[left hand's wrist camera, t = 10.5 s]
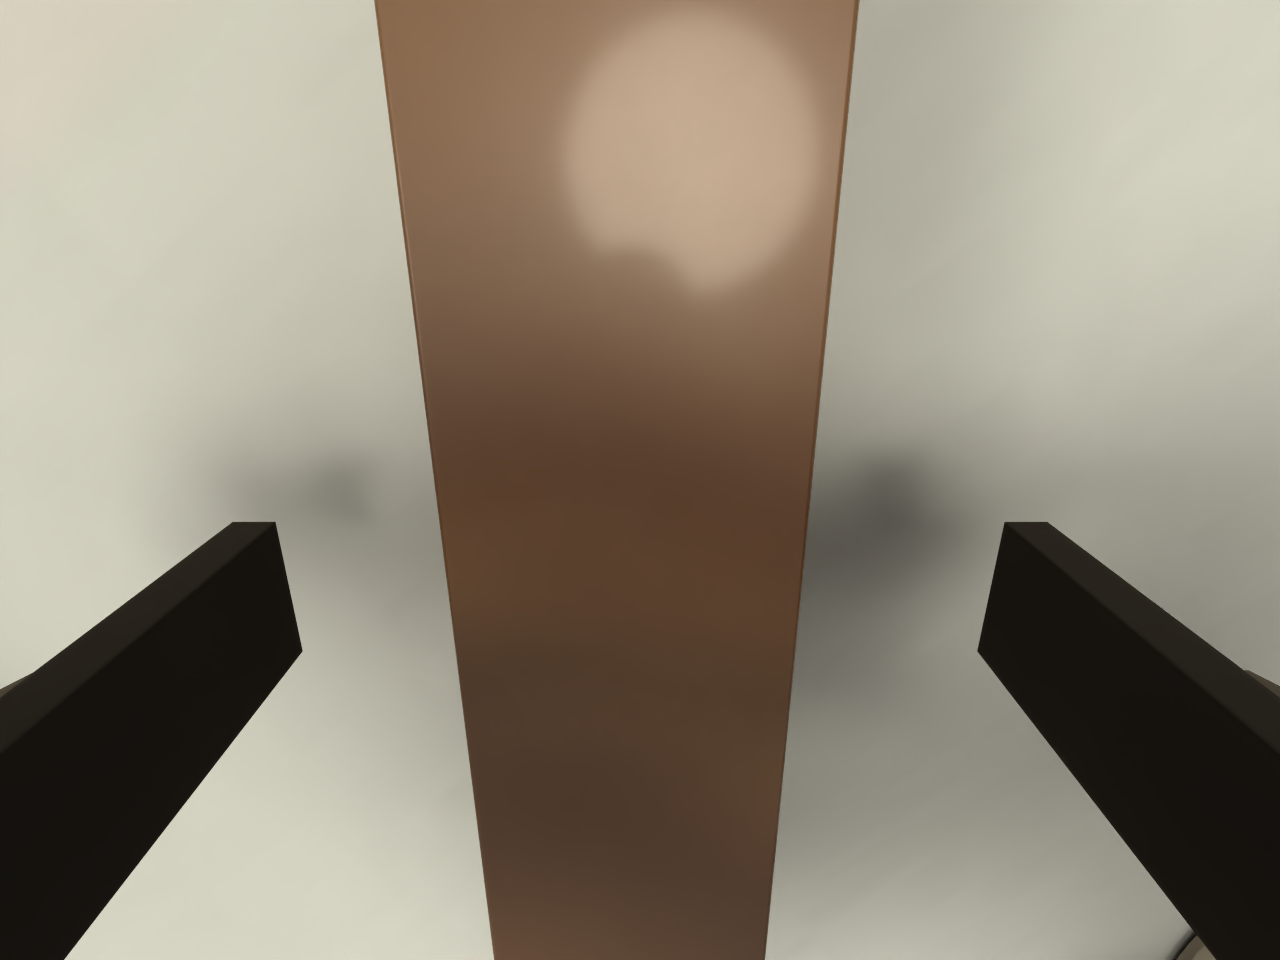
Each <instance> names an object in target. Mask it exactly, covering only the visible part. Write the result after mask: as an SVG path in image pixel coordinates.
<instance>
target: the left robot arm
mask: <svg viewBox="0 0 1280 960" xmlns="http://www.w3.org/2000/svg"><path fill="white" fill-rule="evenodd" d="M301 653H302V646H301V641H300V637H299V632H298V627H297V622H296V618H295V613H294V608H293V603H292V599H291V594H290V589H289V584H288V580H287V575H286V570H285V565H284V561H283V556H282V551H281V547H280V542H279V537H278V532H277V528H276V523H275V522H232V523H231V524H230V525H228V526H227V527H226V528H224V529H223V530H222V531H220V532H219V533H218V534H216V535H215V536H214V537H212V538H211V539H210V540H208V541H207V542H206V543H204V544H203V545H202V546H200V547H199V548H198V549H196V550H195V551H194V552H192V553H191V554H190V555H188V556H187V557H186V558H184V559H183V560H182V561H181V562H179V563H178V564H177V565H175V566H174V567H173V568H171V569H170V570H169V571H167V572H166V573H165V574H163V575H162V576H161V577H159V578H158V579H157V580H155V581H154V582H153V583H151V584H150V585H149V586H147V587H146V588H145V589H143V590H142V591H141V592H139V593H138V594H137V595H135V596H134V597H133V598H131V599H130V600H129V601H128V602H126V603H125V604H124V605H122V606H121V607H120V608H118V609H117V610H116V611H114V612H113V613H112V614H110V615H109V616H108V617H106V618H105V619H104V620H102V621H101V622H100V623H98V624H97V625H96V626H94V627H93V628H92V629H90V630H89V631H88V632H86V633H85V634H84V635H82V636H81V637H80V638H78V639H77V640H76V641H75V642H73V643H72V644H71V645H69V646H68V647H67V648H65V649H64V650H63V651H61V652H60V653H59V654H57V655H56V656H55V657H53V658H52V659H51V660H49V661H48V662H47V663H45V664H44V665H43V666H41V667H40V668H39V669H37V670H36V671H35V672H33V673H31V674H29V675H28V676H26V677H24V678H22V679H20V680H18V681H16V682H14V683H12V684H10V685H8V686H6V687H4V688H2V689H0V960H64V959H65V958H66V956H67V955H68V954H69V953H70V951H71V950H72V949H73V947H74V946H75V945H76V944H77V942H78V941H79V940H80V938H81V937H82V936H83V935H84V933H85V932H86V931H87V929H88V928H89V927H90V925H91V924H92V923H93V922H94V920H95V919H96V918H97V916H98V915H99V914H100V913H101V911H102V910H103V909H104V907H105V906H106V905H107V903H108V902H109V901H110V900H111V898H112V897H113V896H114V894H115V893H116V892H117V891H118V889H119V888H120V887H121V885H122V884H123V883H124V881H125V880H126V879H127V878H128V876H129V875H130V874H131V872H132V871H133V870H134V869H135V867H136V866H137V865H138V863H139V862H140V861H141V859H142V858H143V857H144V856H145V854H146V853H147V852H148V850H149V849H150V848H151V847H152V845H153V844H154V843H155V841H156V840H157V839H158V837H159V836H160V835H161V834H162V832H163V831H164V830H165V828H166V827H167V826H168V825H169V823H170V822H171V821H172V819H173V818H174V817H175V816H176V814H177V813H178V812H179V810H180V809H181V808H182V806H183V805H184V804H185V803H186V801H187V800H188V799H189V797H190V796H191V795H192V794H193V792H194V791H195V790H196V788H197V787H198V786H199V784H200V783H201V782H202V781H203V779H204V778H205V777H206V775H207V774H208V773H209V772H210V770H211V769H212V768H213V766H214V765H215V764H216V762H217V761H218V760H219V759H220V757H221V756H222V755H223V753H224V752H225V751H226V750H227V748H228V747H229V746H230V744H231V743H232V742H233V740H234V739H235V738H236V737H237V735H238V734H239V733H240V731H241V730H242V729H243V728H244V726H245V725H246V724H247V722H248V721H249V720H250V719H251V717H252V716H253V715H254V713H255V712H256V711H257V709H258V708H259V707H260V706H261V704H262V703H263V702H264V700H265V699H266V698H267V697H268V695H269V694H270V693H271V691H272V690H273V689H274V687H275V686H276V685H277V684H278V682H279V681H280V680H281V678H282V677H283V676H284V675H285V673H286V672H287V671H288V669H289V668H290V667H291V665H292V664H293V663H294V662H295V660H296V659H297V658H298V656H299V655H300V654H301ZM978 653H979V654H980V655H981V656H982V658H983V659H984V660H985V662H986V663H987V664H988V665H989V667H990V668H991V669H992V671H993V672H994V673H995V675H996V676H997V677H998V678H999V680H1000V681H1001V682H1002V684H1003V685H1004V686H1005V687H1006V689H1007V690H1008V691H1009V693H1010V694H1011V695H1012V697H1013V698H1014V699H1015V700H1016V702H1017V703H1018V704H1019V706H1020V707H1021V708H1022V709H1023V711H1024V712H1025V713H1026V715H1027V716H1028V717H1029V719H1030V720H1031V721H1032V722H1033V724H1034V725H1035V726H1036V728H1037V729H1038V730H1039V731H1040V733H1041V734H1042V735H1043V737H1044V738H1045V739H1046V740H1047V742H1048V743H1049V744H1050V746H1051V747H1052V748H1053V750H1054V751H1055V752H1056V753H1057V755H1058V756H1059V757H1060V759H1061V760H1062V761H1063V762H1064V764H1065V765H1066V766H1067V768H1068V769H1069V770H1070V772H1071V773H1072V774H1073V775H1074V777H1075V778H1076V779H1077V781H1078V782H1079V783H1080V784H1081V786H1082V787H1083V788H1084V790H1085V791H1086V792H1087V794H1088V795H1089V796H1090V797H1091V799H1092V800H1093V801H1094V803H1095V804H1096V805H1097V806H1098V808H1099V809H1100V810H1101V812H1102V813H1103V814H1104V816H1105V817H1106V818H1107V819H1108V821H1109V822H1110V823H1111V825H1112V826H1113V827H1114V828H1115V830H1116V831H1117V832H1118V834H1119V835H1120V836H1121V837H1122V839H1123V840H1124V841H1125V843H1126V844H1127V845H1128V847H1129V848H1130V849H1131V850H1132V852H1133V853H1134V854H1135V856H1136V857H1137V858H1138V859H1139V861H1140V862H1141V863H1142V865H1143V866H1144V867H1145V869H1146V870H1147V871H1148V872H1149V874H1150V875H1151V876H1152V878H1153V879H1154V880H1155V881H1156V883H1157V884H1158V885H1159V887H1160V888H1161V889H1162V891H1163V892H1164V893H1165V894H1166V896H1167V897H1168V898H1169V900H1170V901H1171V902H1172V903H1173V905H1174V906H1175V907H1176V909H1177V910H1178V911H1179V913H1180V914H1181V915H1182V916H1183V918H1184V919H1185V920H1186V922H1187V923H1188V924H1189V925H1190V927H1191V928H1192V929H1193V931H1194V932H1195V933H1196V935H1197V936H1196V937H1195V938H1194V939H1193V940H1192V941H1191V942H1190V943H1189V944H1188V945H1187V947H1186V948H1185V949H1184V950H1183V952H1182V953H1181V954H1180V955H1179V957H1178V958H1177V960H1280V686H1278V685H1276V684H1274V683H1272V682H1270V681H1268V680H1266V679H1264V678H1262V677H1260V676H1258V675H1256V674H1254V673H1252V672H1250V671H1244V670H1243V669H1241V668H1240V667H1239V666H1237V665H1236V664H1235V663H1233V662H1232V661H1231V660H1229V659H1228V658H1227V657H1225V656H1224V655H1223V654H1221V653H1220V652H1219V651H1217V650H1216V649H1215V648H1213V647H1212V646H1211V645H1209V644H1208V643H1207V642H1205V641H1204V640H1203V639H1202V638H1200V637H1199V636H1198V635H1196V634H1195V633H1194V632H1192V631H1191V630H1190V629H1188V628H1187V627H1186V626H1184V625H1183V624H1182V623H1180V622H1179V621H1178V620H1176V619H1175V618H1174V617H1172V616H1171V615H1170V614H1168V613H1167V612H1166V611H1164V610H1163V609H1162V608H1160V607H1159V606H1158V605H1156V604H1155V603H1154V602H1152V601H1151V600H1150V599H1149V598H1147V597H1146V596H1145V595H1143V594H1142V593H1141V592H1139V591H1138V590H1137V589H1135V588H1134V587H1133V586H1131V585H1130V584H1129V583H1127V582H1126V581H1125V580H1123V579H1122V578H1121V577H1119V576H1118V575H1117V574H1115V573H1114V572H1113V571H1111V570H1110V569H1109V568H1107V567H1106V566H1105V565H1103V564H1102V563H1101V562H1099V561H1098V560H1097V559H1096V558H1094V557H1093V556H1092V555H1090V554H1089V553H1088V552H1086V551H1085V550H1084V549H1082V548H1081V547H1080V546H1078V545H1077V544H1076V543H1074V542H1073V541H1072V540H1070V539H1069V538H1068V537H1066V536H1065V535H1064V534H1062V533H1061V532H1060V531H1058V530H1057V529H1056V528H1054V527H1053V526H1052V525H1050V524H1049V523H1048V522H1005V523H1004V528H1003V532H1002V537H1001V542H1000V547H999V551H998V556H997V561H996V565H995V570H994V575H993V580H992V584H991V589H990V594H989V599H988V603H987V608H986V613H985V618H984V622H983V627H982V632H981V637H980V641H979V646H978Z"/></svg>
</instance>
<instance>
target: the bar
mask: <svg viewBox="0 0 1280 960" xmlns="http://www.w3.org/2000/svg"><path fill="white" fill-rule="evenodd" d="M374 2H375V10H376V18H377V26H378V34H379V42H380V50H381V58H382V66H383V74H384V82H385V90H386V98H387V106H388V114H389V122H390V130H391V138H392V146H393V154H394V162H395V170H396V178H397V186H398V194H399V202H400V210H401V218H402V226H403V234H404V242H405V250H406V258H407V266H408V274H409V282H410V290H411V298H412V306H413V314H414V322H415V330H416V338H417V346H418V354H419V362H420V370H421V378H422V386H423V394H424V402H425V410H426V418H427V426H428V434H429V442H430V450H431V458H432V466H433V474H434V482H435V490H436V498H437V506H438V514H439V522H440V530H441V538H442V546H443V554H444V562H445V570H446V578H447V586H448V594H449V602H450V610H451V618H452V626H453V634H454V642H455V650H456V658H457V666H458V674H459V682H460V690H461V698H462V706H463V714H464V722H465V730H466V738H467V746H468V754H469V762H470V770H471V778H472V786H473V794H474V802H475V810H476V818H477V826H478V834H479V842H480V850H481V858H482V866H483V874H484V882H485V890H486V898H487V906H488V914H489V922H490V930H491V938H492V946H493V954H494V960H765V954H766V943H767V933H768V923H769V913H770V903H771V893H772V883H773V872H774V862H775V852H776V842H777V832H778V822H779V811H780V801H781V791H782V781H783V771H784V761H785V750H786V740H787V730H788V720H789V710H790V700H791V690H792V679H793V669H794V659H795V649H796V639H797V629H798V618H799V608H800V598H801V588H802V578H803V568H804V558H805V547H806V537H807V527H808V517H809V507H810V497H811V486H812V476H813V466H814V456H815V446H816V436H817V425H818V415H819V405H820V395H821V385H822V375H823V365H824V354H825V344H826V334H827V324H828V314H829V304H830V293H831V283H832V273H833V263H834V253H835V243H836V233H837V222H838V212H839V202H840V192H841V182H842V172H843V161H844V151H845V141H846V131H847V121H848V111H849V101H850V90H851V80H852V70H853V60H854V50H855V40H856V29H857V19H858V9H859V0H374Z"/></svg>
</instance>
